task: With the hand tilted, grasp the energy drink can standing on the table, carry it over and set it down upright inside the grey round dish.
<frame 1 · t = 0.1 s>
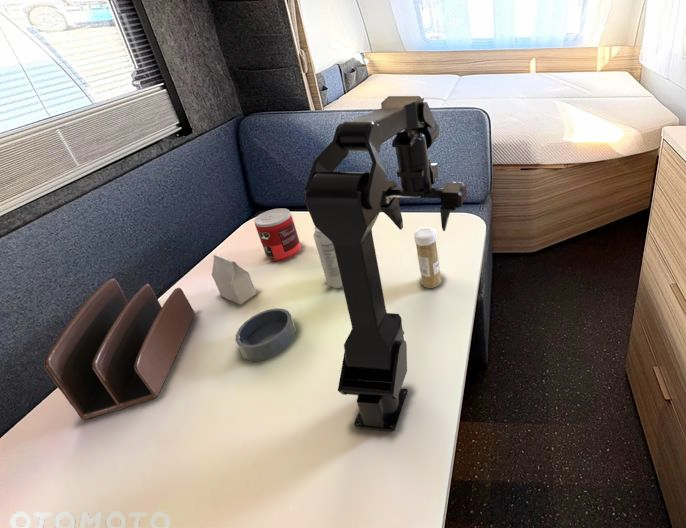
hand: (422, 229, 80), 15 cm above the table, tool pointing down, fingers open, 9 cm apart
letter holder: (147, 361, 71), on the table
grey round dish: (269, 340, 74), on the table
sprinkles bottle: (431, 282, 87), on the table
gable top box: (239, 295, 85), on the table
canned food: (284, 253, 99), on the table
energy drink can: (341, 281, 88), on the table
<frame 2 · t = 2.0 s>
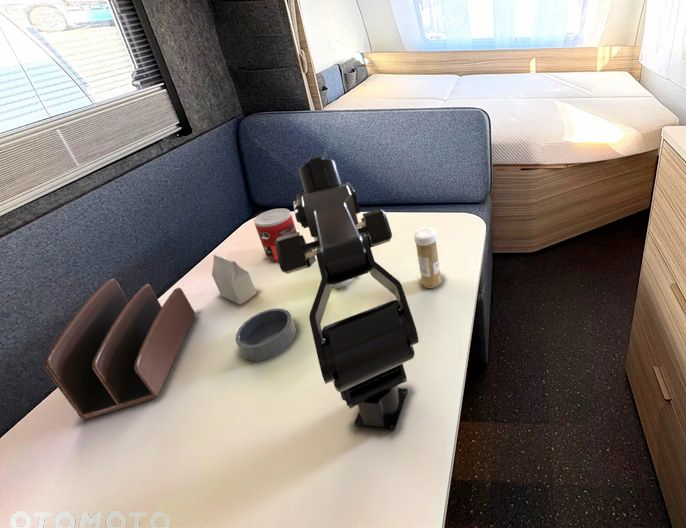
hand: (338, 250, 77), 13 cm above the table, tool tilted 45°, fingers open, 9 cm apart
nothing on the table moved.
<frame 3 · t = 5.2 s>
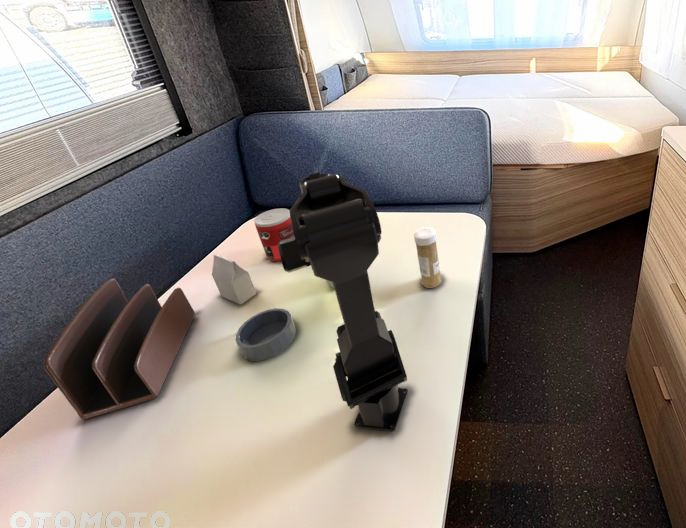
hand: (333, 250, 86), 8 cm above the table, tool tilted 45°, fingers closed on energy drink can, 6 cm apart
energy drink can: (341, 281, 88), on the table, touching gripper
everything else where it was.
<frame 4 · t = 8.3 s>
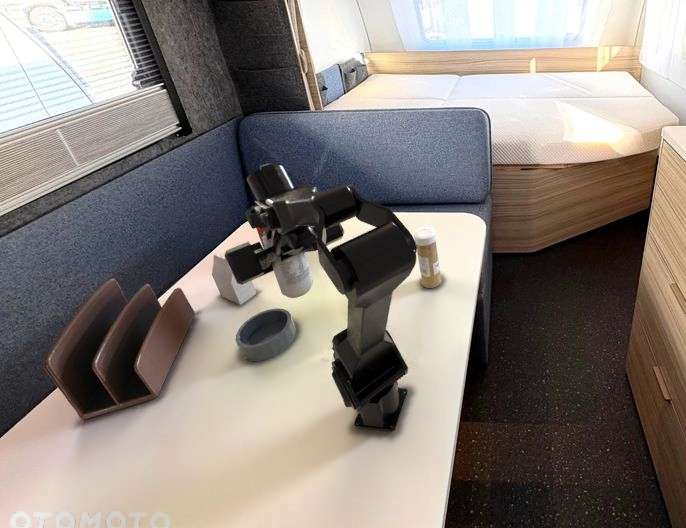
hand: (286, 256, 77), 12 cm above the table, tool tilted 45°, fingers closed on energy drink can, 6 cm apart
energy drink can: (299, 290, 79), point 5 cm above the table, touching gripper
everything else where it was.
when the fingers open (8 cm above the table, at t = 11.5 s): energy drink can stays where it is, resting on grey round dish.
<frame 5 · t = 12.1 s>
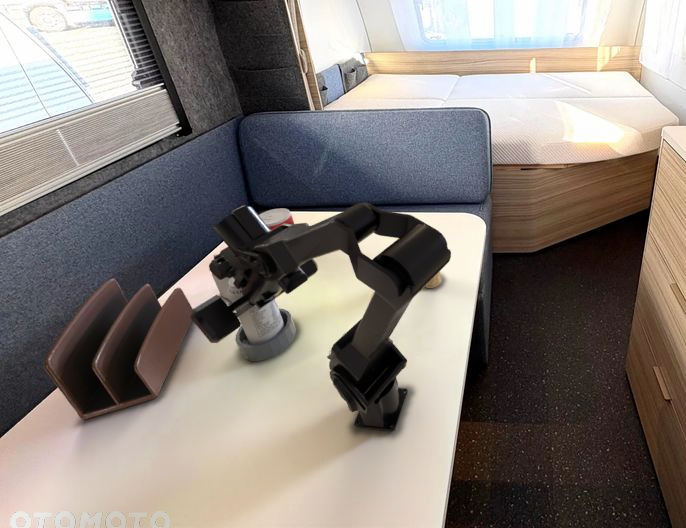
hand: (251, 303, 71), 9 cm above the table, tool tilted 45°, fingers open, 9 cm apart
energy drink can: (269, 339, 73), resting on grey round dish
everything else where it was.
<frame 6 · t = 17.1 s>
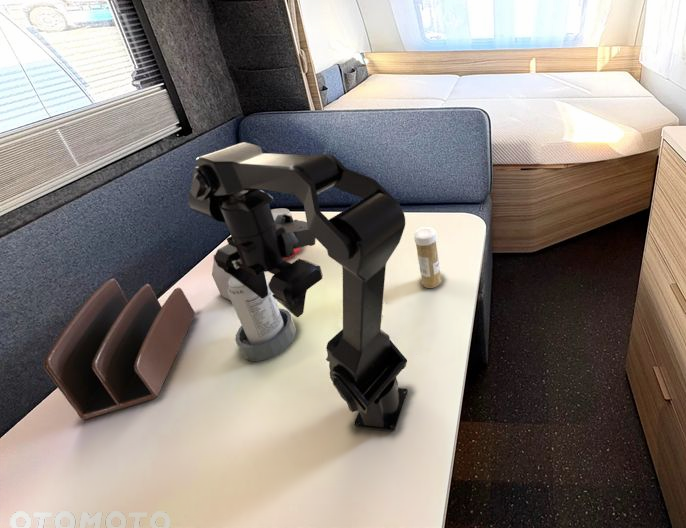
hand: (281, 305, 64), 13 cm above the table, tool pointing down, fingers open, 9 cm apart
nothing on the table moved.
at the end: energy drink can 0.2 cm off-centre in the grey round dish, point 0.3 cm above the grey round dish's base; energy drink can tilted 0°; the gripper is holding nothing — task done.
